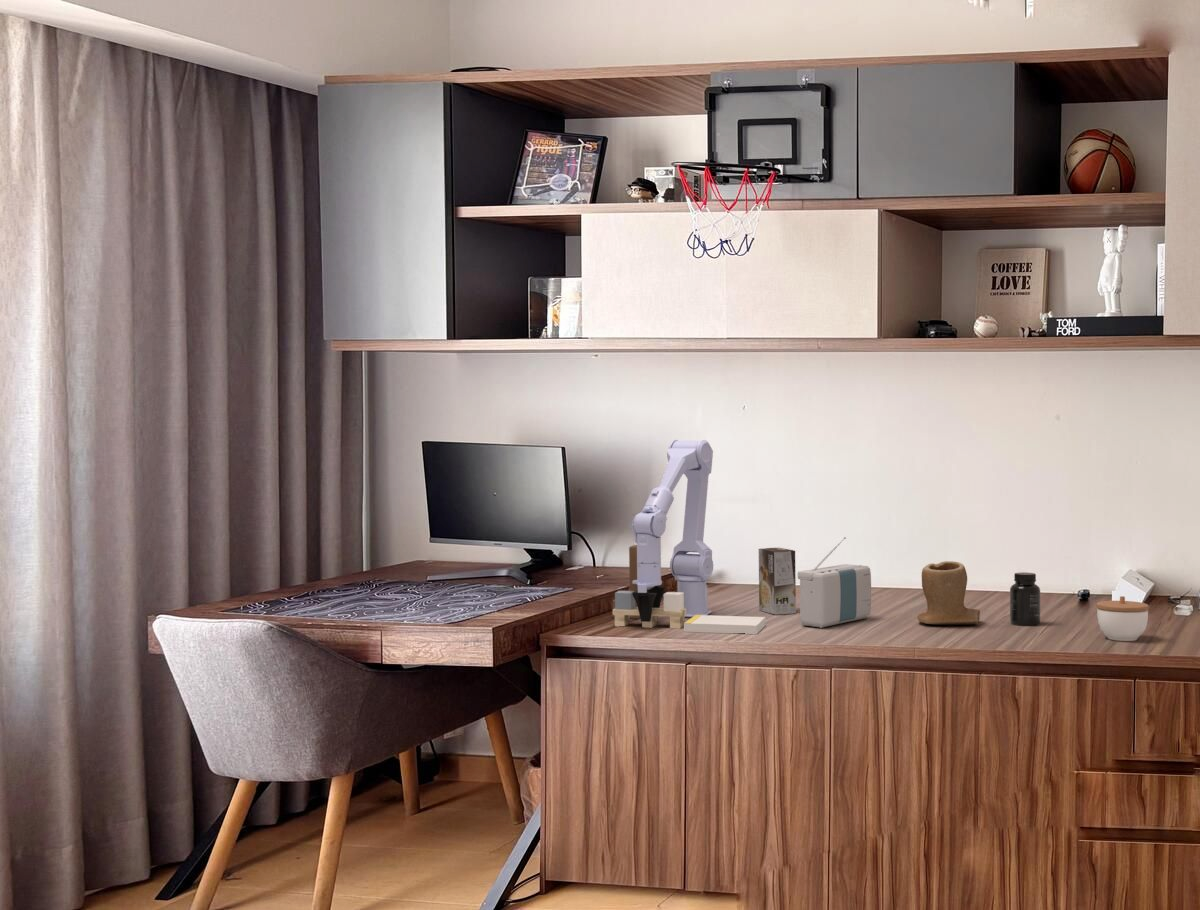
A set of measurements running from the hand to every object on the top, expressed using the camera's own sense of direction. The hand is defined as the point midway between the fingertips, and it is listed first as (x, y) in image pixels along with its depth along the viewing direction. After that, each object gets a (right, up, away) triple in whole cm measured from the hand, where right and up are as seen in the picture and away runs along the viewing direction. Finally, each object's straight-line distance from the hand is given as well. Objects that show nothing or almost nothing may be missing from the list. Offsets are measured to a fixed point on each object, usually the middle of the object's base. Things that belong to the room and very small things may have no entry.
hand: (649, 619), depth 320 cm
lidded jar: (+103, -1, -26) cm, 107 cm away
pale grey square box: (-6, +2, +2) cm, 6 cm away
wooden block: (-4, -1, +14) cm, 14 cm away
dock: (+18, -2, -6) cm, 19 cm away
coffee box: (+33, -1, +20) cm, 39 cm away
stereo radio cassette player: (+45, -1, +2) cm, 45 cm away
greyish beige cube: (+6, +2, -2) cm, 6 cm away
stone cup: (+71, -1, -4) cm, 71 cm away
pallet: (0, -2, 0) cm, 2 cm away
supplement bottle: (+89, -1, -4) cm, 89 cm away
